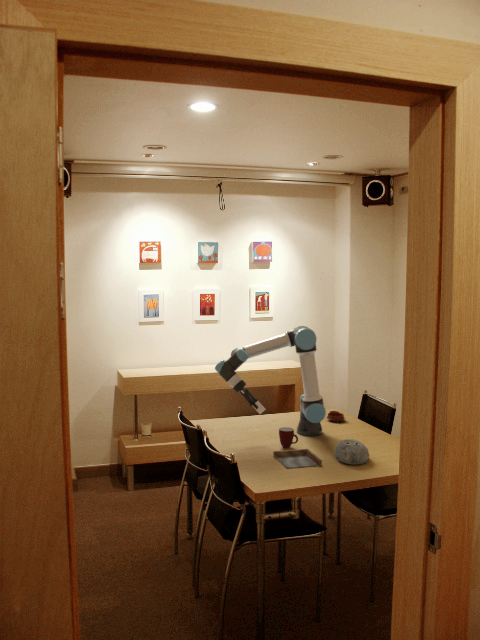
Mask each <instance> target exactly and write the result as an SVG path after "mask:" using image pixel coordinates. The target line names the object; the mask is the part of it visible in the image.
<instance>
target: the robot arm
mask: <svg viewBox="0 0 480 640" xmlns="http://www.w3.org/2000/svg"><path fill="white" fill-rule="evenodd" d="M287 347H290V348H292V347H294V348H295V353H296V354H297V355H298V356H299V362H300V364H299V365H300V372H301V378H302V385H303V388H302V389H303V394H301V395H300V397H299V398H300V399H299V402H300V403H299V404H300V406H299V407H300V408H299V412H300V413H299V421H298V423H297V427H296V433H297V434H299V435H302V436H306V437H307V436H309V437H314V436H320V435H322V434H323V427H322V424H321V422H322V421H324V419H325V418H326V414H327V411H326V408H325V406H324V405H325V404H324V397H323V396H322V395H321V394H320V387H319V379H318V372H317V371H318V370H317V365H316V363H317V362H316V357H315V353H316V352H317V334H316V332H315V331H314V330H312V329H311V328H309V327H308V326H306V325H305V326H304V325H300V326H297V327H295V328H292V329H290V330H286V331H285V332H284V333H283V334H279V335H275V336H273V337H270V338H267V339H264V340H261V341H260V340H259V341H258V342H255V343H251V344H248V345H245V346H242V347H239V348H238V347H235V348H234V349H232V351H231V352H230V357H229V358H228V359H227V360H225V359H222V360H220V361H219V362H218V363H217V364H216V365H215V366H214V369H215V371H216V372H217V374H218V375H219V376H220V377H221V378H222V379H223V380H224V381H225V382H226V383H227V386H229V387H231V388H232V390H233V391H234V392H235V393H236V394H238V393H240V395H241V396H243V398H244V399H245V400H246V401H247V403H248V404H249V406H250V407H252V408H253V409H254V410H255V411H256V412H257V413H258V414H259V415H261V414H263V413H264V412H265V411H266V408H265V407H264V405H262V403H260V401H259V399H258V398H256V397H255V395H253V394H252V393H251V391H250V390H249V389H248V388H247V387H246V386H247V383H246V382H245V381H244V380H243V379H242V378H241V376H240V375H239V374H238V373H237V372H236V371H237V370H238V369H239V368H240V367H241V366H242V365H243V364H244V363H245V362H247V360H248V359H251V358H255V357H259V356H261V355H264V354H267V353H271V352H274V351H277V350H280V349H283V348H287ZM245 387H246V388H245Z"/></svg>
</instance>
